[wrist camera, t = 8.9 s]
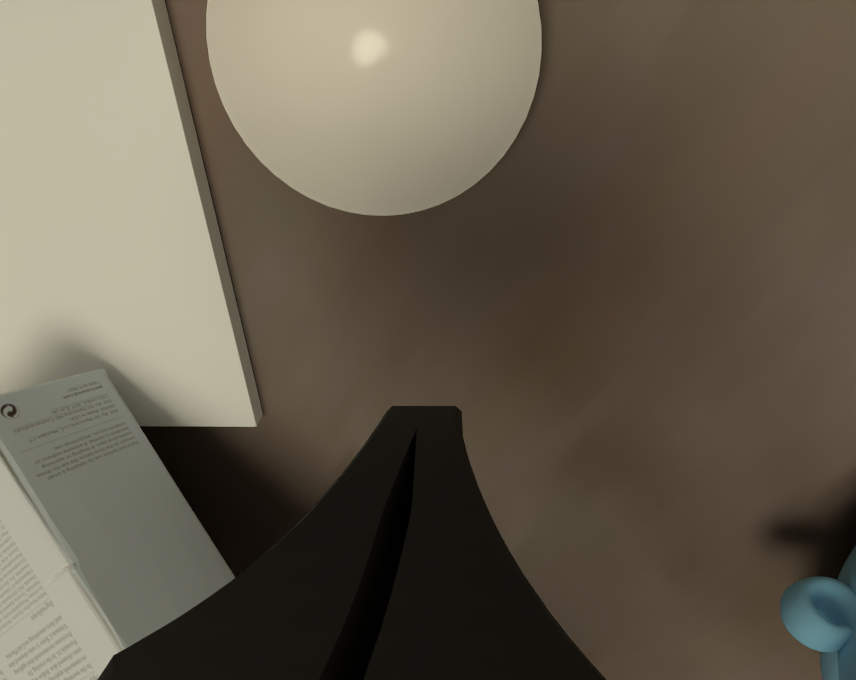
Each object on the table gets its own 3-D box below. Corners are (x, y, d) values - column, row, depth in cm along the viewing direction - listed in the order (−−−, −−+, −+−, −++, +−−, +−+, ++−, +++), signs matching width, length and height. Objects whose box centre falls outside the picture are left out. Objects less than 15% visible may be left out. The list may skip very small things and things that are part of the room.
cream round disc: (597, 72, 19) (607, 82, 18) (368, 251, 22) (362, 270, 21) (394, -239, 16) (387, -255, 14) (159, 24, 19) (137, 30, 18)
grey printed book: (-83, 570, 34) (65, 851, 32) (-220, 628, 29) (-55, 962, 28) (121, 359, 25) (347, 743, 23) (-33, 395, 20) (239, 883, 18)
